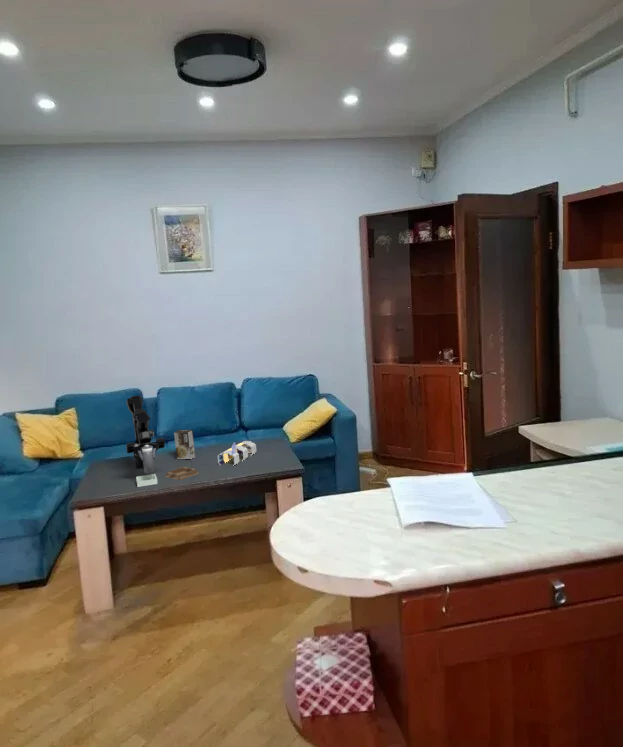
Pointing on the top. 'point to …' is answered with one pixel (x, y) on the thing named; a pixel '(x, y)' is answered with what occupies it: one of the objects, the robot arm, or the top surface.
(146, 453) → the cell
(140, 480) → the white square tray
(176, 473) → the brown wooden tray
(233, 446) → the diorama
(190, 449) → the coffee box
